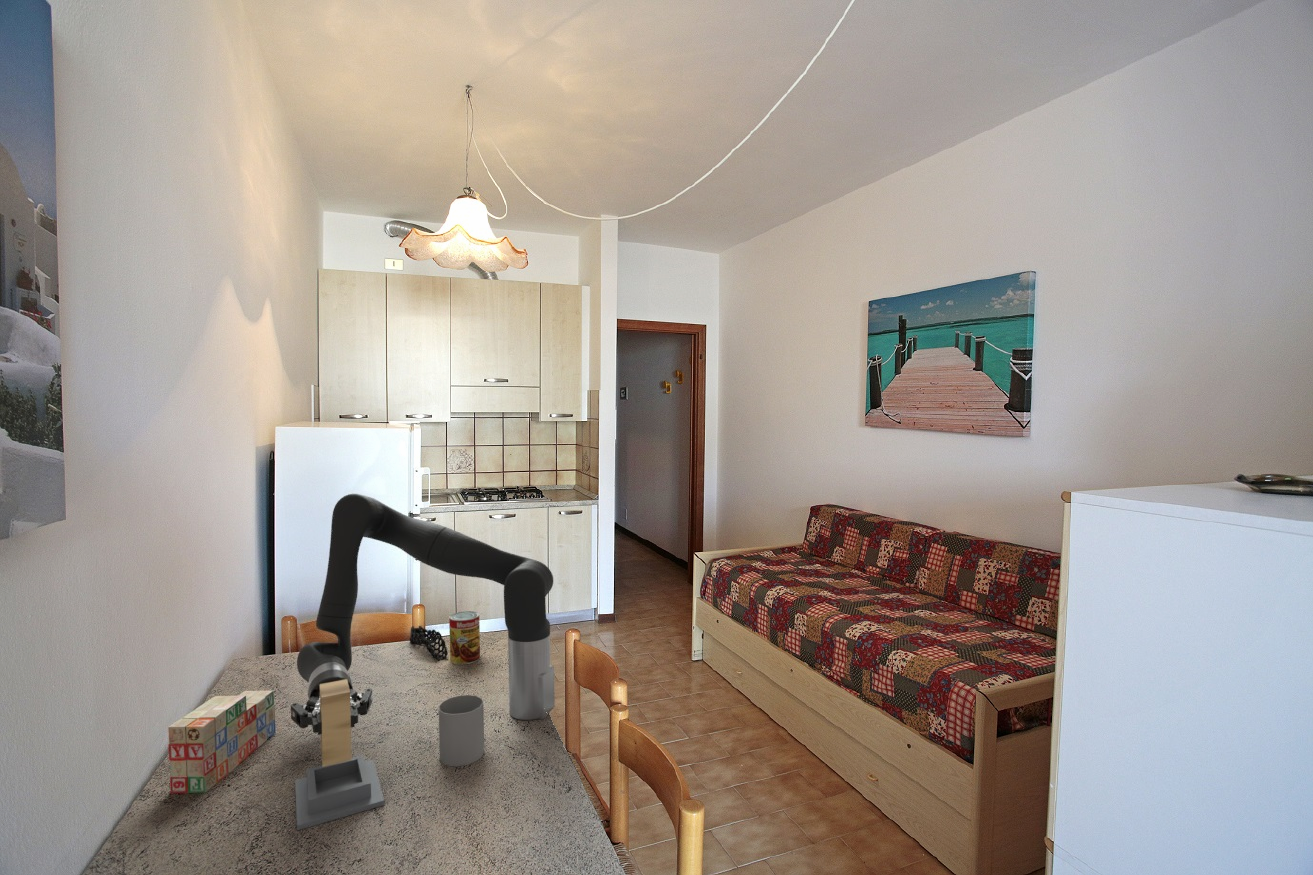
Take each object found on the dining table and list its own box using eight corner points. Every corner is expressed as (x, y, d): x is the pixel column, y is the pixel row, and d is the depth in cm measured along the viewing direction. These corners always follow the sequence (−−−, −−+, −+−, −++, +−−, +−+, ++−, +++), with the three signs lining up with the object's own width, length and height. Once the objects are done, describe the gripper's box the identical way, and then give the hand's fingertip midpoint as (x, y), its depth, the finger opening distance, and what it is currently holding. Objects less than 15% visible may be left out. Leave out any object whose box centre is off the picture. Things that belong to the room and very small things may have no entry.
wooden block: (320, 750, 114) (319, 684, 113) (348, 744, 116) (347, 679, 115) (322, 766, 108) (321, 697, 108) (351, 759, 111) (350, 691, 110)
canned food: (463, 666, 169) (462, 621, 168) (443, 660, 173) (443, 616, 173) (486, 657, 175) (485, 614, 175) (467, 651, 180) (466, 609, 179)
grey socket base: (295, 784, 116) (294, 766, 115) (373, 763, 122) (372, 746, 122) (297, 830, 103) (296, 810, 102) (384, 804, 109) (383, 785, 109)
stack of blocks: (246, 733, 134) (244, 676, 134) (276, 733, 134) (274, 675, 134) (169, 794, 113) (167, 725, 113) (205, 793, 113) (202, 725, 113)
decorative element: (451, 659, 175) (451, 637, 175) (433, 663, 172) (432, 642, 172) (421, 638, 192) (421, 618, 192) (404, 641, 189) (404, 622, 189)
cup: (438, 748, 128) (437, 699, 127) (480, 739, 131) (479, 691, 130) (441, 770, 120) (440, 717, 119) (486, 760, 123) (485, 709, 123)
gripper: (287, 676, 120) (288, 713, 106) (369, 661, 128) (381, 694, 113) (288, 715, 121) (288, 758, 106) (370, 698, 128) (381, 736, 113)
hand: (336, 725), depth 110 cm, fingers closed on wooden block, 4 cm apart
